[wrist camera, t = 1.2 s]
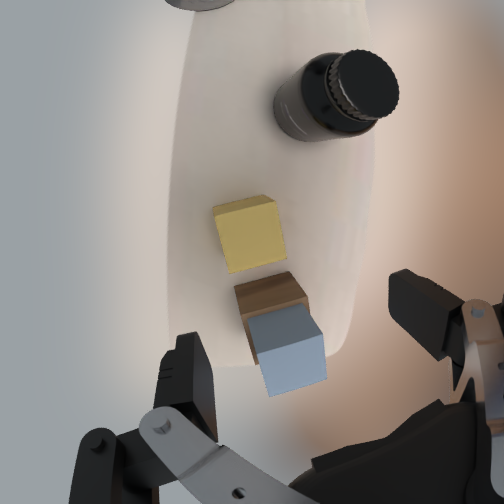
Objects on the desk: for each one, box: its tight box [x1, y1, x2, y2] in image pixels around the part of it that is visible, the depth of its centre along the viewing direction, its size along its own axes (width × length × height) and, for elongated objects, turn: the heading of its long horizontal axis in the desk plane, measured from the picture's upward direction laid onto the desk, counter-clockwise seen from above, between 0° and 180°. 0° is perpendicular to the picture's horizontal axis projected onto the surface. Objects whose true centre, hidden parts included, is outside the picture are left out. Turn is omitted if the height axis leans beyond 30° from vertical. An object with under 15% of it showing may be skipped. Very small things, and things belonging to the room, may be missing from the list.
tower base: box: [234, 272, 310, 365], centre depth 27 cm, size 6×6×6 cm
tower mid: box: [247, 303, 327, 397], centre depth 22 cm, size 5×5×5 cm
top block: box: [213, 195, 287, 274], centre depth 25 cm, size 5×5×5 cm
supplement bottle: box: [274, 49, 399, 142], centre depth 19 cm, size 7×7×12 cm
